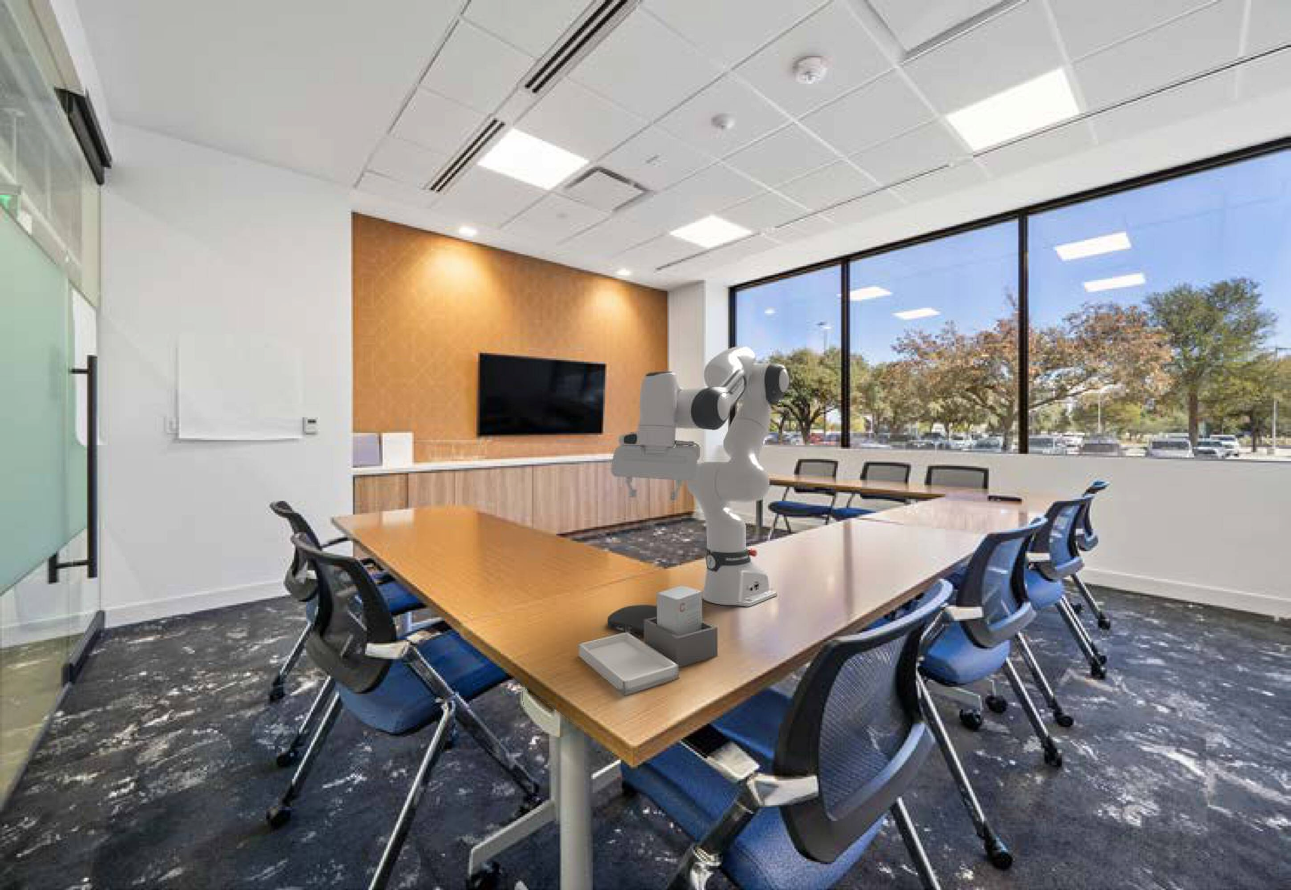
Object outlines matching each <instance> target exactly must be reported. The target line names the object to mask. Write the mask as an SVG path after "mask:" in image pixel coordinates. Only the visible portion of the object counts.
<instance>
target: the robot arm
mask: <svg viewBox="0 0 1291 890" xmlns="http://www.w3.org/2000/svg"><path fill="white" fill-rule="evenodd" d="M703 379H704V384H705V385H706V387H705V388H687V389H685V388H683V387H682V386H681V385H679V383H678V382H677V381H678V380H677V375H676V373H675V372H674V371H670V370H663V371H650V372H648V373H646V374H645V375H644V376H643V379H642V381H641V386H640V394H639V414H640V417H639V421H638V424H637V425H638V426H637V431H631V432H629V433H625V434H621V435H619V437H618V444H619V445H618V446H617V447H616V448H615V450H614V452H613V454H612V455H613V456H612V462H611V468H610V472H611V473H610V474H611V475H612V477H618V478H619V477H620V478H622V477H623V478H625V482H626V483H625V484H626V485H627V488H628V489H629V498H637V491H638V489H634V488H633V485H632V482H633V479H634V478H636V479H638V478H639V479H655V480H673V481H675V485H677V486H676V488H675V489H674V490H673V491H670V493H669V494H670V496H669V497H670V498H669V499H670V500H672V501H673V500H674V501H676V500H678V499H677V498H678V497H677V496H678V492H679V491H680V489H681V487H682V486H683V481H685V484H686V488H687V490H688V492H689V494H691V495H692V496H693V497H694V498H695V499H696V501H697V502H698V503H699V505H700V508H701V510H702V514H703V515H704V519H705V525H706V548H705V563H706V570H705V571H706V572H705V579H704V584H703V585H704V586H703V590H702V600H704V601H706V602H708V603H712V604H717V605H723V606H739V607H741V606H742V607H751V606H754V605H756V604H759V603H761V602H764V601H766V600H769V599H771V598H774V597H776V596H778V591H777V590H776V589H775V588H773V587H771V586H770V581H769V576H768V574H767V573H766V572H765V570H763V569H762V568H760V567H759V566H758V565H757V564H755V563H754V561H752V559H751V557H754V558H755V557H757V555H758V550H757V549H753V548H749V549H748V548H747V533H746V532H747V525H746V521H745V519H744V518H743V517H742V516H740V515H739V514H738V513H737V512H735V510H734V509H733V507H732V504H731V502H737V503H738V502H739V503H751V502H756V501H757V502H758V501H761V500H764V498H765V497H766V495H767V494H768V491H769V490H770V489H769V488H770V477H769V474H768V472H767V471H766V469H765V468H764V467H763V466H762V465H761V464H760V463H761V462H760V453H761V450H762V446H763V444H764V441H765V438H766V437H767V433H768V431H769V429H770V424H771V419H772V408H771V406H776V405H777V404H779V401H780V400H781V399H783V397H785V395H786V393H787V391H788V389H789V388H790V387H789V386H790V375H789V372H788V369H787V368H786V366H784V365H783V364H779V363H776V362H771V363H762V362H759V363H758V362H757V358H756V355H755V353H754V352H753V351H752V349H750V348H749V347H747V346H745V345H744V346H743V345H737V346H734V347H730V348H728V349H726V350H724V351H722V352H720V353H719V354H717V355H716V356H714V357H713V358H712V359H710V361H709V362H708V363H707V364H706V366H705V367H704V369H703ZM739 400H742V405H741V406H740V408H739V409H738V410H737V412H736V414H735V415H734V417H733V419H732V421H731V423H730V426H729V427H728V430H727V432H726V434H725V437H723V438H724V439H723V449H724V451H725V453H726V454H727V456H729V458H730V459H729V460H728V461H726V462H723V461H722V462H721V461H705V462H704V461H703V462H699V463H698V460H699V459H700V458H701V447H700V445H699V444H698V443H695V441H693V440H687V441H686V440H676V431H677V430H676V429H684V430H686V429H688V430H689V429H692V430H693V429H695V430H699V429H700V430H701V429H702V430H711V431H716V430H719V429H721V427H723V426H724V425H725V424H726V422H727V420H728V419H729V417H730V414H731V411H732V409H733V408H734V406H735V405H736V404H737V402H738V401H739Z"/></svg>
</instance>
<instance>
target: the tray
mask: <svg viewBox="0 0 1291 890" xmlns="http://www.w3.org/2000/svg"><path fill="white" fill-rule="evenodd" d="M578 656H579V658H581V659H582V660H583V661H584V662H585V663H587V665H589V666H590V667H591V668H592V669H593V670H594V671H596V672H597V673H598V674H599V675H600V676H601V677H603V678H604V679H605V680H606V681H607V682H609V683H610V684H611V685H612V686H613V687H614V688H615V689H616V690H618V691H619V692H620V693H621V694H622V695H623V696H628V695H631V694H635V693H637V692H641V691H644V690H647V689H650V688H653V687H656V686H659V685H662V684H665V683H668V682H672V681H674V680H678V679H680V671H679V670H680V667H679V665H677V664H676V663H674V662H673V661H671V660H669V659H668V658H666V657H665V656H663V655H662V654H660V653H659V652H657V651H656V650H654V649H652V648H651V647H649V646H648V645H646V644H645V643H644V641H642V640H640V639H638V637H636V636H633V635H631V634H629V633H628V632H625V633H621V632H620V633H618V634H613V635H609V636H606V637H602V638H598V639H593V640H590V641H585V642H581V643H578Z"/></svg>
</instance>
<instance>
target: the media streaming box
mask: <svg viewBox="0 0 1291 890" xmlns="http://www.w3.org/2000/svg"><path fill="white" fill-rule="evenodd" d="M653 617H657V605H652V604H651V605H650V604H636V605H628V606H624V607H622V608H619V609H617V610H616V611H614V612H612V613H611V614H610V615H608V616H607V628H608V629H609V630H612V631H615V632H617V633H620V634H621V633H625V632H628V633H629V634H631V635H632V636H634V637H636V638H642V639H644V620H645V619H649V618H653Z"/></svg>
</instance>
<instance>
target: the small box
mask: <svg viewBox="0 0 1291 890" xmlns="http://www.w3.org/2000/svg"><path fill="white" fill-rule="evenodd" d="M702 593H703V590H702V591H701V590H699V589H695V588H692V587H688V586H684V585H679V586H676V587H673V588H670V589H666V590H662V591H660V592H656V606H657V625H658V626H660V627H662V628H664V629H665V630H667V631H669V632H671V633H672V634H674V635H676V636H681V635H685V634H689V633H693V632H696V631H700V630H702V620H703V604H702V603H703V602H702V601H703V598H702Z"/></svg>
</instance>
